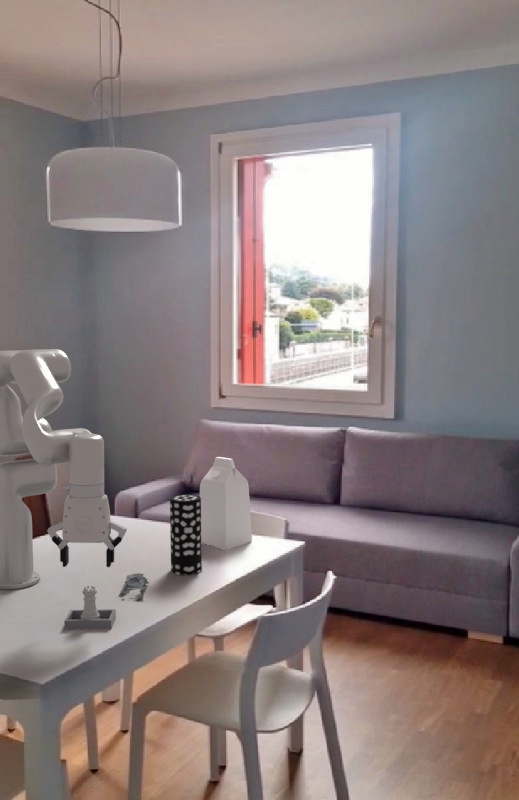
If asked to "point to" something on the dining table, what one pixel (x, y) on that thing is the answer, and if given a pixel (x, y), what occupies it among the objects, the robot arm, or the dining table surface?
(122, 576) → the dining table surface
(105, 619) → the gray rectangular open tray
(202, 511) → the milk
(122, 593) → the driftwood
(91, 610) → the rook chess piece
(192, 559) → the white-spotted black cylinder
